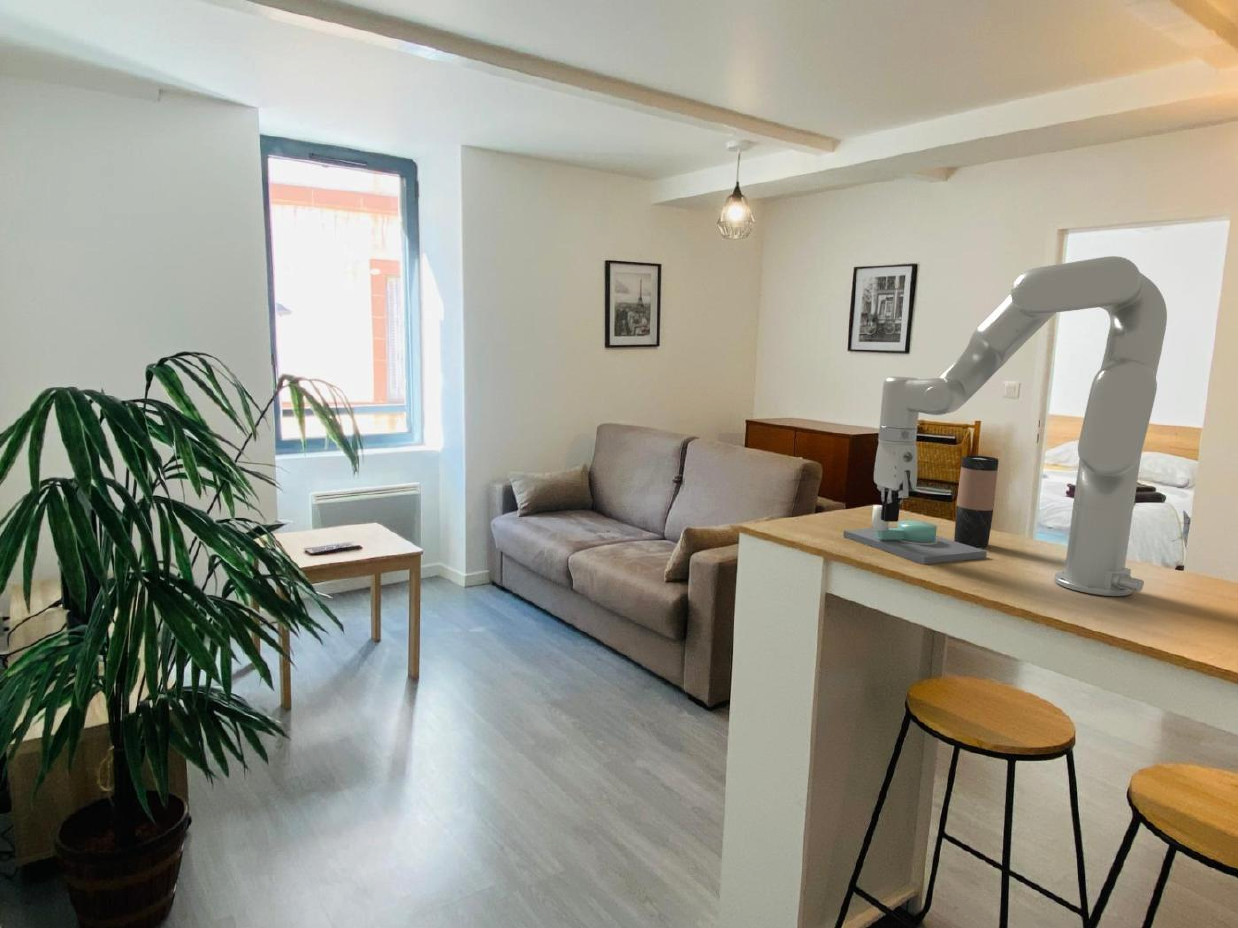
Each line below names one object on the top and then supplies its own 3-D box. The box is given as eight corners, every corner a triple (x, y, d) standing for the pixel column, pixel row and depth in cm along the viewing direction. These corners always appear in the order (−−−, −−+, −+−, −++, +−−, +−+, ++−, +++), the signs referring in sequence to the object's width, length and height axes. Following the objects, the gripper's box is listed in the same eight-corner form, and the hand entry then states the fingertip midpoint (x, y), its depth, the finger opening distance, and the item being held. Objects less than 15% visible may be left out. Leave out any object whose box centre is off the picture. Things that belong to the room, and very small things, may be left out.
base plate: (986, 557, 166) (986, 549, 166) (923, 564, 158) (924, 556, 158) (901, 532, 187) (902, 525, 187) (843, 536, 180) (843, 529, 179)
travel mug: (995, 549, 174) (1005, 460, 171) (960, 547, 174) (970, 459, 171) (980, 540, 181) (989, 456, 179) (947, 539, 182) (956, 454, 179)
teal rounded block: (922, 533, 178) (925, 503, 176) (942, 542, 170) (946, 510, 169) (862, 533, 175) (865, 503, 174) (880, 542, 167) (883, 510, 166)
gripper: (933, 440, 158) (925, 528, 160) (895, 432, 172) (887, 513, 175) (900, 439, 156) (891, 528, 159) (863, 431, 171) (856, 513, 173)
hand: (889, 520), depth 167 cm, fingers closed
